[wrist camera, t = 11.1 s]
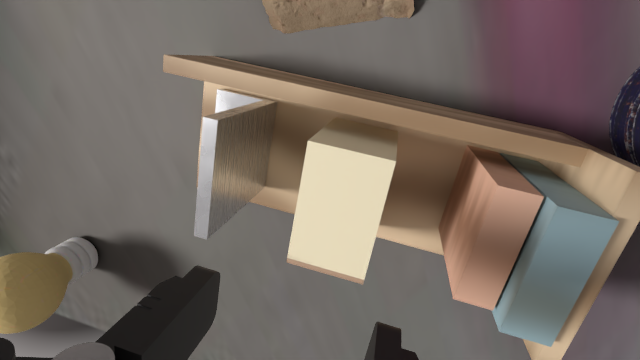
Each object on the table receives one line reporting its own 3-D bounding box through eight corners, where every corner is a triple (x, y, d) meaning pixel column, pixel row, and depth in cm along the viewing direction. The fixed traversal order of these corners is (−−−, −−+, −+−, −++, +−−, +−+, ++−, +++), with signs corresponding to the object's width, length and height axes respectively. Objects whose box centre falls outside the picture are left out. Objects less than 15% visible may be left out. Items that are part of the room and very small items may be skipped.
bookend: (221, 88, 27) (138, 100, 18) (277, 101, 26) (217, 120, 18) (213, 173, 29) (137, 218, 21) (264, 187, 28) (207, 239, 20)
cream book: (335, 117, 25) (307, 140, 18) (398, 131, 25) (396, 161, 17) (317, 209, 28) (286, 262, 21) (373, 223, 27) (362, 284, 20)
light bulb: (121, 279, 36) (24, 354, 27) (70, 277, 38) (-38, 347, 29) (104, 222, 34) (-6, 281, 25) (51, 222, 36) (-71, 277, 27)
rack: (212, 56, 27) (106, 52, 17) (561, 131, 24) (672, 181, 14) (202, 183, 31) (109, 239, 21) (502, 265, 27) (558, 379, 17)
